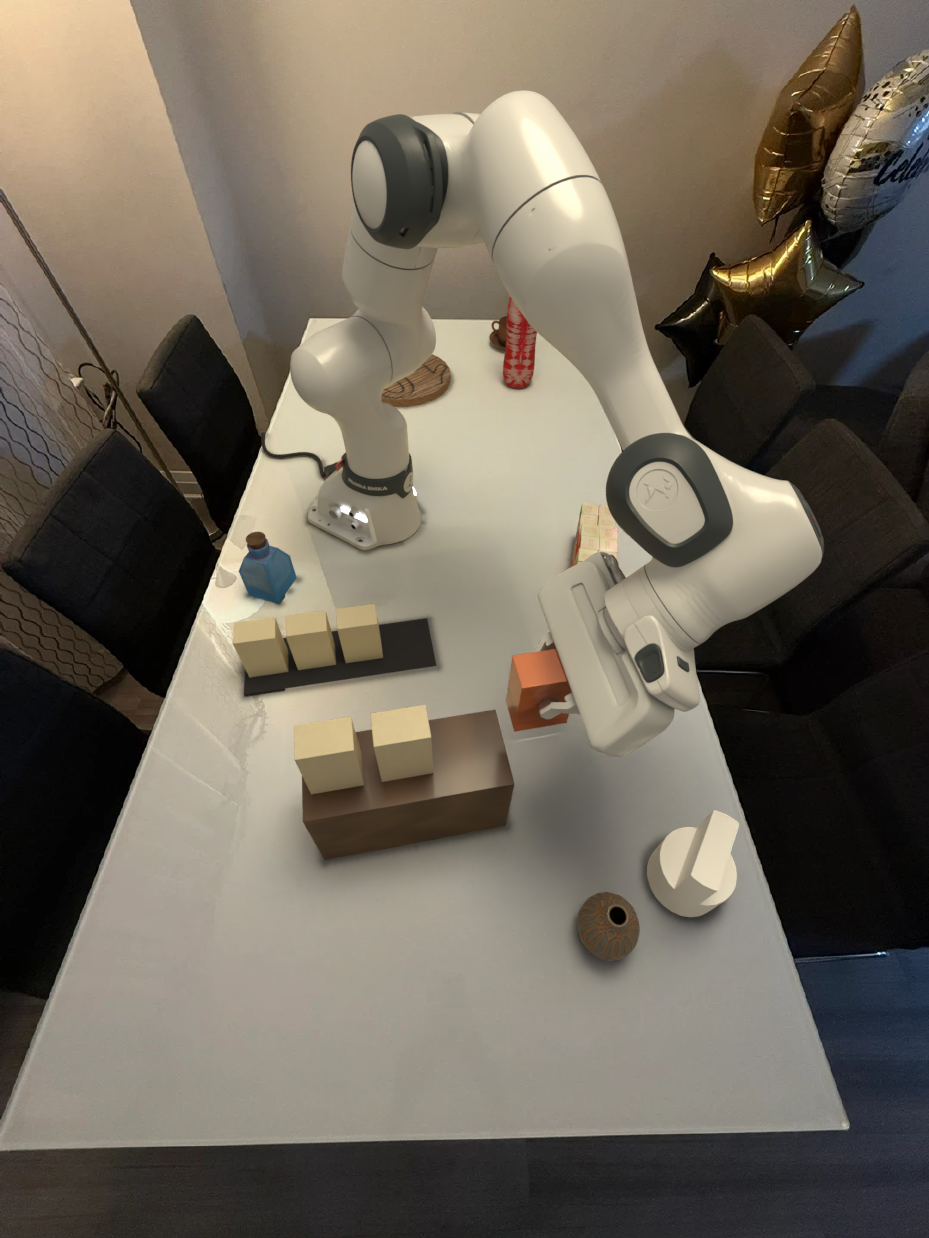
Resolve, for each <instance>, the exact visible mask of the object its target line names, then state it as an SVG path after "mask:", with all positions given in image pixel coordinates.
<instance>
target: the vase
mask: <svg viewBox="0 0 929 1238" xmlns="http://www.w3.org/2000/svg"><path fill="white" fill-rule="evenodd" d="M576 926H577V932H578V936H579V938H580V941H581V944H582V945H583V946H584V947H585V948H586V950H587V951H588V952H589V953H590V954H592V955H593V956H594V957H596V958H598V959H601V960H604V961H611V962H613V961H618V960H621V959H624V958H625V957H627V956H628V955H630V953H632V951H634V949H635V948H636V946H637V944H638V941H639V939H640V931H641V928H640V921H639V917H638V914H637V911H636V910H635V908H634V907H633V906H632V904H631V903H630V902H629V901H628V900H627V899H626V898H624V897H623V896H621V895H620V894H617V893H615V892H609V891H602V892H598V893H595V894H592V895H591V896H589V897H588V898H587V899H586V900H585V901H584V902H583V904H581V906H580V909H579V911H578V914H577V919H576Z"/></svg>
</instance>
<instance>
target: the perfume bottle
mask: <svg viewBox="0 0 929 1238" xmlns="http://www.w3.org/2000/svg"><path fill="white" fill-rule="evenodd" d="M245 542H246V548H247V550H248V552H247V553H246V555H245V556H244V557H243V559H242V560H241V561H242V562H241V563H240V566H239V569H238V574H239V575H240V578H241V580H242V583H243V585H244V588H245V590H246V592H247V595H248V596H249V597H253V598H256V599H261V600H263V601H267V602H269V603H273V604H277V605H281V604H282V602H283V601H284V599H285V598H286V594H287V592H288V591H289V590H290V589H291V587H292V586H293V584H294V582H295V581H296V580H297V579H298V577H297V574H296V571H295V567H294V564H293V562H292V557H291V555H290V554H288V553H287V552H285V551H284V550H283V549H280V548H279V547H276V546H272V545H270V542H269V540H268V538H267V536H266V534H265V533H264V532H262V531H252V532H250V533H248V535H247V536H246V537H245Z"/></svg>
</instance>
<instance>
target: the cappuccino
mask: <svg viewBox="0 0 929 1238" xmlns="http://www.w3.org/2000/svg"><path fill="white" fill-rule="evenodd" d="M495 324H497V325H498V328H495ZM491 330H493V331H491V333H490V334H489V341H490V344H492V345H493V346H494V347H496V348H497V349H500V350H503V351H505V349H506V345H505V344H504V342H505V341H506V339H507V315H504V316H502V317H500V318H499V320H493V321H492V323H491Z"/></svg>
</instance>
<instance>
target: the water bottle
mask: <svg viewBox="0 0 929 1238" xmlns="http://www.w3.org/2000/svg"><path fill="white" fill-rule="evenodd" d="M506 316H507V339H506V341H505V342H504V344H505V345H506V349H505V350H504V357H503V364H502V376H503V380H504V382H505V384H506V386H508V387H509V388H511V389H517V390H519V389H525V388H526V387H528V386H529V384H530V383H531V381H532V378H533V377H534V371H535V361H536V344H537V335H538V333H537V332H536V331H535V330H534V328H533V327H532V326H531V325H530V324H529V322H528V321H527V320H526V319H525V317H524V316H523V314H522V313H521V312H520V310H519V309H518V307H517V306H516V304H515V303H514V301H513V300H512V298H511V297H510V296H509V298H508V302H507V311H506Z"/></svg>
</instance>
